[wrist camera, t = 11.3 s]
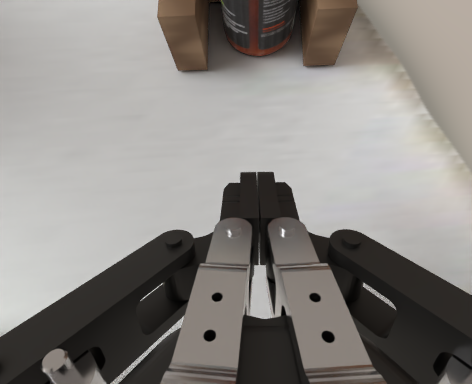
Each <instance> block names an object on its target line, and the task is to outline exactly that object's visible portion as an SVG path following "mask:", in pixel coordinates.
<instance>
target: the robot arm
mask: <svg viewBox="0 0 472 384" xmlns="http://www.w3.org/2000/svg"><path fill="white" fill-rule="evenodd" d="M259 253H260V265H266V285H267V291H268V297H269V303H270V309H271V315H272V318H270V319H260V318H256V317H252V316H250V309H251V295H252V277H253V275H254V265H258V262H259ZM161 283H163V284H162V285H161V286H160V287H158V286H159V285H160V284H161ZM363 283H366V284H367V285H369V286H370V287H371V288H373V289H374V290H376V291H377V292H379V293H380V294H382V295H383V296H384V297H386V298H387V299H389V300H390V301H391V302H392V303H393V304H394V306H395V307H396V309H397V311H396V310H395V309H394V308H392V307H391V306H389V305H388V304H387V303H385V302H384V301H382V300H381V299H379V298H378V297H377V296H375V295H374V294H372V293H371V292H370V291H368V290H367V289H365V288H364V287H363ZM156 287H158V288H157V289H156V290H155V291H153V292H152V293H151V294H149V293H150V292H151V291H152V290H154V289H155V288H156ZM147 294H149V295H148V296H147V297H146V298H144V299H143V300H142V301H140V300H141V299H142V298H143V297H145V296H146V295H147ZM184 315H185V316H184ZM183 316H184V320H183V323H182V327H181V328H179V329H177V330H176V331H174V332H173V333H171V334H170V335H168V336H167V337H166V338H165V339H163V340H162V341H161V342H160V343H159V344H158V345H157V346H156V347H155V348H154V349H153V350H152V351H151V352H150V353H149V354H148V355H147V356H146V357H145V358H144V359H143V360H142V361H141V362H140V363H139V364H138V365H137V366H136V367H135V368H134V369H133V370H132V371H131V372H130V373H129V374H128V375H127V376H126V377H125V378H124V379H123V380H122V381H121V382H120V383H119V384H472V295H470V294H468V293H466V292H465V291H463V290H461V289H459V288H458V287H456V286H454V285H452V284H451V283H449V282H447V281H445V280H443V279H442V278H440V277H438V276H436V275H435V274H433V273H431V272H429V271H428V270H426V269H424V268H422V267H420V266H419V265H417V264H415V263H413V262H412V261H410V260H408V259H406V258H405V257H403V256H401V255H399V254H398V253H396V252H394V251H392V250H390V249H389V248H387V247H385V246H383V245H382V244H380V243H378V242H376V241H375V240H373V239H371V238H369V237H367V236H366V235H364V234H362V233H360V232H357V231H354V230H347V229H343V230H338V231H335V232H334V233H332V235H331V236H330V238H326V237H322V236H318V235H314V234H312V233H310V232H308V231H307V229H306V227H305V225H304V224H303V223H302V222H300V221H299V217H298V213H297V209H296V205H295V202H294V197H293V193H292V189H291V188H290V187H289V186H288V185H287V184H286V183H285V182H275V178H274V173H273V172H257V177H256V172H241V174H240V183H229V184H228V185H227V186H226V187H225V188H224V192H223V200H222V208H221V216H220V222H219V223H218V224H217V225H216V226H215V229H214V232H212V233H210V234H208V235H206V236H203V237H198V238H193V236H192V235H191V234H190V233H189V232H187V231H184V230H171V231H168V232H165V233H163V234H161V235H160V236H158V237H157V238H155V239H153V240H152V241H150V242H149V243H147V244H146V245H144V246H142V247H141V248H139V249H138V250H136V251H135V252H133V253H131V254H130V255H128V256H127V257H125V258H124V259H122V260H121V261H119V262H117V263H116V264H114V265H113V266H111V267H110V268H108V269H106V270H105V271H103V272H102V273H100V274H99V275H97V276H95V277H94V278H92V279H91V280H89V281H88V282H86V283H84V284H83V285H81V286H80V287H78V288H77V289H75V290H73V291H72V292H70V293H69V294H67V295H66V296H64V297H62V298H61V299H59V300H58V301H56V302H55V303H53V304H52V305H50V306H48V307H47V308H45V309H44V310H42V311H41V312H39V313H37V314H36V315H34V316H33V317H31V318H30V319H28V320H26V321H25V322H23V323H22V324H20V325H19V326H17V327H15V328H14V329H12V330H11V331H9V332H8V333H6V334H4V335H3V336H1V337H0V384H110V383H111V382H112V381H113V380H114V379H116V378H117V377H118V376H119V375H120V374H121V373H122V372H123V371H124V370H125V369H126V368H128V367H129V366H130V365H131V364H132V363H133V362H134V361H135V360H136V359H137V358H138V357H139V356H141V355H142V354H143V353H144V352H145V351H146V350H147V349H148V348H149V347H150V346H151V345H153V344H154V343H155V342H156V341H157V340H158V339H159V338H160V337H161V336H162V335H163V334H165V333H166V332H167V331H168V330H169V329H170V328H171V327H172V326H173V325H174V324H175V323H177V322H178V321H179V320H180V319H181V318H182V317H183Z"/></svg>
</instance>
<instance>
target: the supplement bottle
mask: <svg viewBox="0 0 472 384" xmlns="http://www.w3.org/2000/svg"><path fill="white" fill-rule="evenodd" d="M297 1H298V0H221V7H222V15H223V22H224V28H225V33H226V36H227V39H228V41H229V42H230V44H231V45H232V46H233V47H234V48H236V49H237V50H238V51H240V52H242V53H244V54H248V55H253V56H263V55H267V54H271V53H273V52H275V51H277V50H279V49H280V48H282V47H283V46H284V45H285V44H286V43H287V41H288V40H289V38H290V36H291V33H292V30H293V26H294V20H295V14H296V8H297Z"/></svg>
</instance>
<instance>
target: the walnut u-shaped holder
mask: <svg viewBox="0 0 472 384" xmlns="http://www.w3.org/2000/svg"><path fill="white" fill-rule="evenodd" d="M216 1H221V0H159V2H158V15H157V18H158V20H159V23H160V25H161V28H162V31H163V33H164V36H165V38H166V41H167V43H168V46H169V49H170V51H171V54H172V56H173V59H174V62H175V64H176V67H177V69H178V71H181V70H207V65H208V27H209V2H216ZM299 4H300V20H301V35H302V50H303V66H314V65H334V64H335V62H336V59H337V57H338V54H339V52H340V49H341V47H342V45H343V42H344V40H345V37H346V35H347V32H348V30H349V27H350V25H351V22H352V20H353V18H354V15H355V13H356V10H357V8H358V7H357V0H299Z"/></svg>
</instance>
